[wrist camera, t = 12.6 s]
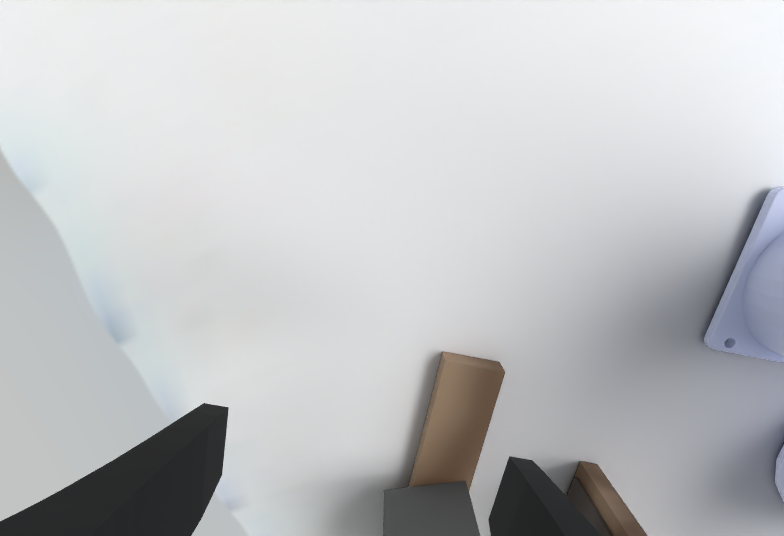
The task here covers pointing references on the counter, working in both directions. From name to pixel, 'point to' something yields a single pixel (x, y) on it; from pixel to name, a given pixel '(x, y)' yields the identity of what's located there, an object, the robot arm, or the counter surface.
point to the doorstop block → (430, 511)
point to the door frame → (467, 434)
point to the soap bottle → (780, 473)
